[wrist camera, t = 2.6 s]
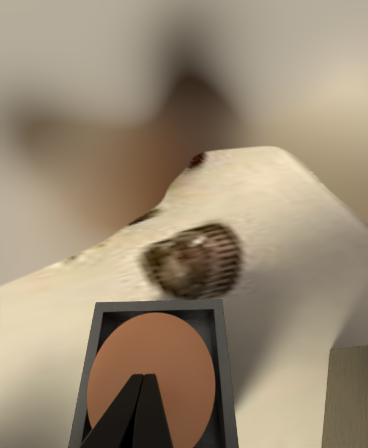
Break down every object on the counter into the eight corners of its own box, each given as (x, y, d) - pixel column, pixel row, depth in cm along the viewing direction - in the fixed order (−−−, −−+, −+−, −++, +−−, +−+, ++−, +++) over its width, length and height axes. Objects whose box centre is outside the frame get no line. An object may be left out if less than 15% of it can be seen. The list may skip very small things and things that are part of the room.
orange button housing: (218, 433, 15) (243, 487, 8) (116, 436, 15) (59, 492, 8) (209, 323, 19) (222, 299, 12) (128, 325, 19) (95, 302, 12)
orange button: (214, 447, 10) (222, 469, 8) (97, 450, 10) (72, 473, 8) (205, 320, 13) (209, 311, 10) (114, 322, 13) (100, 314, 10)
